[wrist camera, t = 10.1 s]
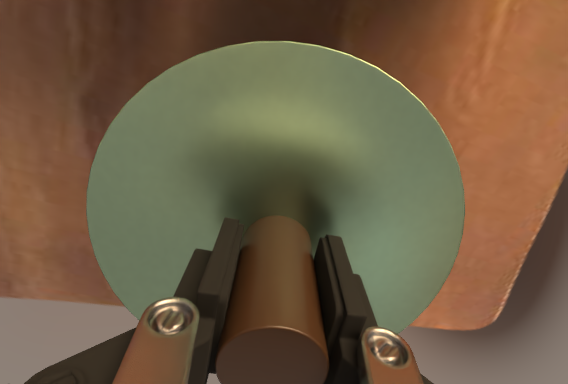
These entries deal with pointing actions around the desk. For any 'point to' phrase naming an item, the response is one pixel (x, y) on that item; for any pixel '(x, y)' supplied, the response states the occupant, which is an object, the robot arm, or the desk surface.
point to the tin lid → (277, 195)
